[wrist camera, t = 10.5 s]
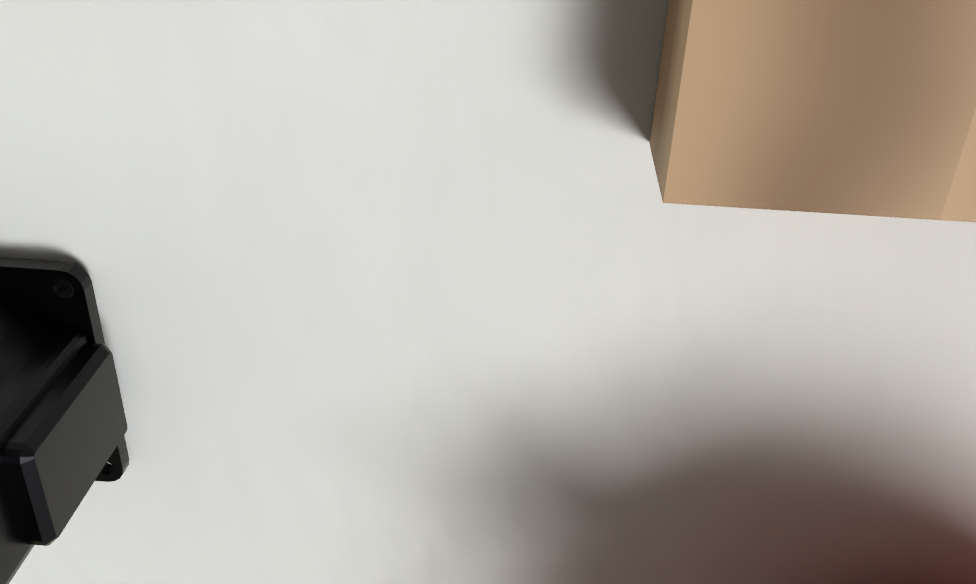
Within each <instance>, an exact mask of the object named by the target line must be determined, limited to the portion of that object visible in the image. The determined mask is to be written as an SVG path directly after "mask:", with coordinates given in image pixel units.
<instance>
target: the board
mask: <svg viewBox="0 0 976 584" xmlns="http://www.w3.org/2000/svg"><path fill="white" fill-rule="evenodd" d="M650 147H651V152H652V156H653V161H654V165H655V170H656V174H657V178H658V183H659V187H660V192H661V196H662V201H663V203H675V204H691V205H707V206H723V207H739V208H755V209H771V210H788V211H804V212H820V213H836V214H852V215H868V216H884V217H900V218H916V219H932V220H948V221H964V222H976V0H669V1H668V8H667V16H666V23H665V31H664V38H663V46H662V53H661V61H660V68H659V76H658V83H657V91H656V98H655V106H654V113H653V121H652V128H651V136H650Z"/></svg>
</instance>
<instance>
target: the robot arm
mask: <svg viewBox="0 0 976 584" xmlns="http://www.w3.org/2000/svg"><path fill="white" fill-rule="evenodd" d="M61 279H62V280H65V281H68V282H69V283H70V284H71V285H72V286H73V288H74V290H72V289H69V288H67V287H66V286H64V285H63V283H62V282H61ZM126 431H127V423H126V418H125V413H124V408H123V404H122V399H121V394H120V389H119V384H118V379H117V375H116V370H115V365H114V360H113V355H112V353H111V351H110V350H109V349H108V347H107V346H106V345H105V343H104V338H103V333H102V328H101V324H100V319H99V314H98V309H97V305H96V300H95V295H94V290H93V286H92V281H91V279H90V277H89V275H88V274H87V272H86V271H85V270H84V269H83V268H81V267H79V266H78V265H76V264H73V263H69V262H58V261H43V260H28V259H13V258H0V584H9V582H10V581H11V579H12V578H13V576H14V575H15V573H16V572H17V570H18V569H19V567H20V566H21V564H22V563H23V561H24V560H25V558H26V557H27V555H28V554H29V552H30V551H31V549H32V548H33V546H34V545H45V546H46V545H50V544H51V543H52V542H53V541H54V540H55V539H56V538H58V537H59V536H60V534H61V532H62V531H63V529H64V528H65V526H66V525H67V523H68V521H69V520H70V518H71V517H72V515H73V514H74V512H75V511H76V509H77V507H78V506H79V504H80V503H81V501H82V500H83V498H84V496H85V495H86V493H87V492H88V490H89V489H90V487H91V486H92V484H93V482H94V481H107V482H109V481H116V480H118V479H120V477H121V476H122V474H123V473H124V471H125V469H126V468H127V466H128V465H129V457H128V452H127V447H126V442H125V438H124V434H125V433H126ZM107 461H108V462H110V463H111V464H112V465H111V464H108V463H106V462H107Z"/></svg>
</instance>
